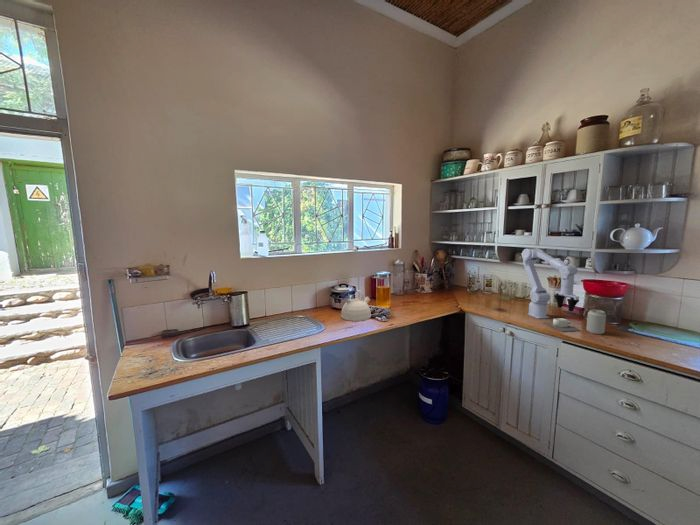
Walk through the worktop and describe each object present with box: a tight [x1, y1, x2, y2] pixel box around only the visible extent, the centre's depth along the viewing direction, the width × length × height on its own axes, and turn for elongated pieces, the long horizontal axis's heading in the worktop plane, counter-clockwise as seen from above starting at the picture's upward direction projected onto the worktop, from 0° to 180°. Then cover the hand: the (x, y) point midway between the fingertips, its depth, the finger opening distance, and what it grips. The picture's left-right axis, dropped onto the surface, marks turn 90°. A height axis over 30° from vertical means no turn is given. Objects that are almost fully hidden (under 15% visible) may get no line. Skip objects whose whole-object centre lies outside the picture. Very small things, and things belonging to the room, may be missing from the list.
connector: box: [552, 317, 571, 328], centre depth 162 cm, size 9×3×4 cm, turn 95°
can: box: [586, 309, 607, 335], centre depth 152 cm, size 8×8×12 cm
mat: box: [543, 321, 581, 333], centre depth 162 cm, size 14×10×1 cm
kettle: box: [340, 289, 372, 322], centre depth 189 cm, size 20×21×18 cm
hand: (565, 309), depth 164 cm, fingers open, 7 cm apart
